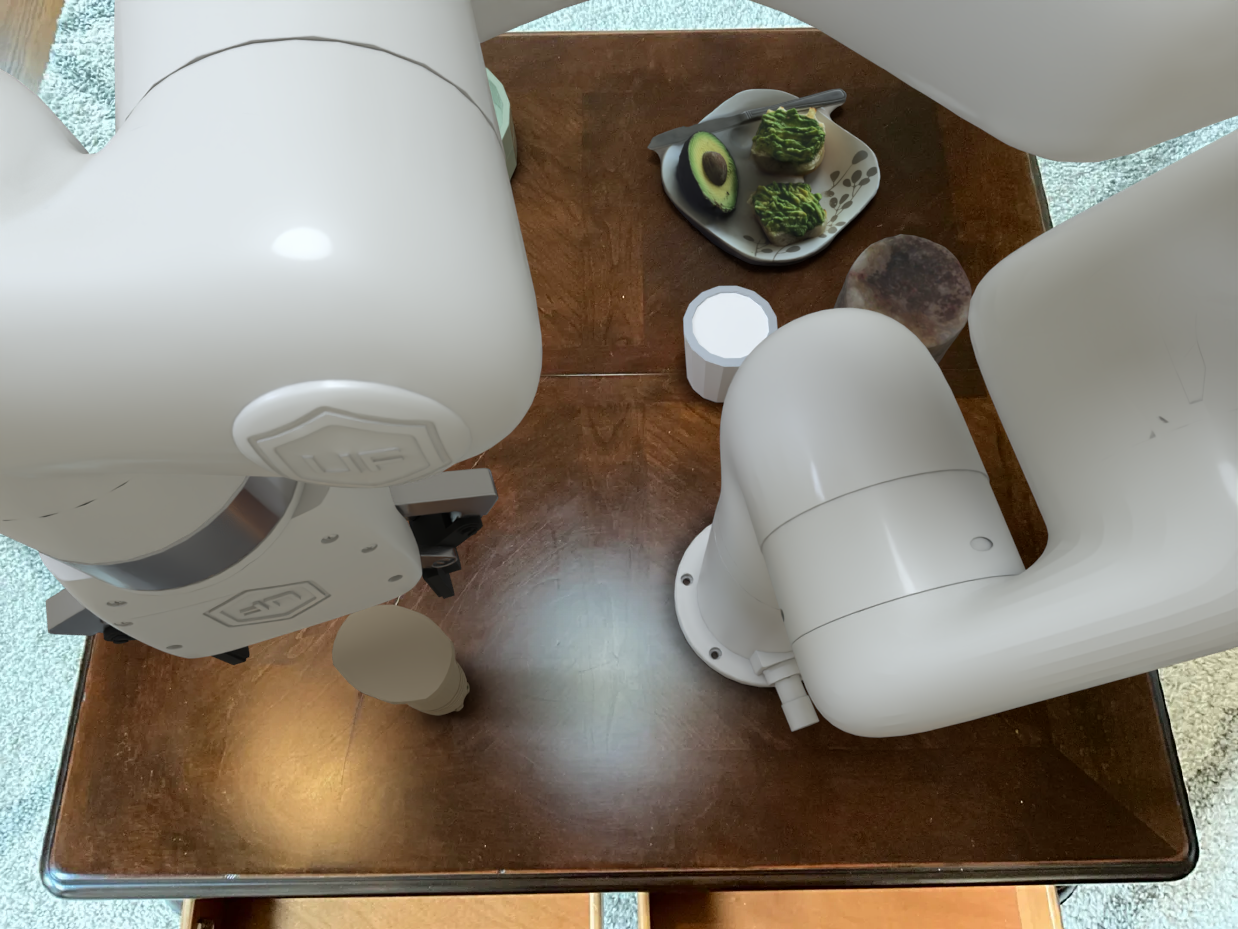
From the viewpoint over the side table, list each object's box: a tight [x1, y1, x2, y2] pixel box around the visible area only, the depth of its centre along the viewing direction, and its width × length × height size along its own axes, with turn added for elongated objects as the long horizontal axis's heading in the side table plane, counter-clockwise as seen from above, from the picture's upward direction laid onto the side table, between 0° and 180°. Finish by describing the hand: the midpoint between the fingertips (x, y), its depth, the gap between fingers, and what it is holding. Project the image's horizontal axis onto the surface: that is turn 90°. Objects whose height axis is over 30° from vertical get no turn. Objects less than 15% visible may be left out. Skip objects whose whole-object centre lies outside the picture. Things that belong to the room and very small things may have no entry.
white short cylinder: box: [682, 285, 779, 403], centre depth 67 cm, size 7×7×7 cm
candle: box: [832, 233, 973, 365], centre depth 58 cm, size 8×7×20 cm
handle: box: [331, 604, 470, 717], centre depth 54 cm, size 5×6×15 cm
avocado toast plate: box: [646, 88, 882, 267], centre depth 75 cm, size 19×18×5 cm
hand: (340, 599), depth 41 cm, fingers open, 9 cm apart
